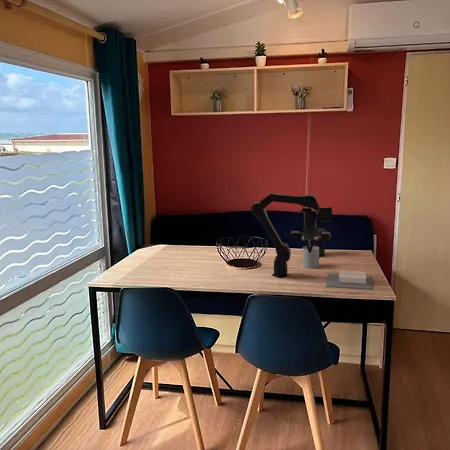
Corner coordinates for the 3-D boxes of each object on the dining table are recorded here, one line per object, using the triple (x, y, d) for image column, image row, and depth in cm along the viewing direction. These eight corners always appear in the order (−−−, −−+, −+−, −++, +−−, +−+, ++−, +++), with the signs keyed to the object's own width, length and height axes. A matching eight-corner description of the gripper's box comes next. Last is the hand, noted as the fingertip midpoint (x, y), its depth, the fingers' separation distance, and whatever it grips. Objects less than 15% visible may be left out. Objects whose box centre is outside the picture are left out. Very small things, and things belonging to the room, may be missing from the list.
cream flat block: (339, 276, 210) (366, 278, 207) (339, 270, 220) (365, 271, 217) (338, 283, 211) (366, 284, 208) (339, 276, 220) (365, 277, 217)
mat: (325, 286, 208) (326, 285, 208) (328, 273, 227) (328, 272, 227) (372, 289, 203) (372, 288, 202) (370, 275, 221) (370, 274, 221)
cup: (300, 267, 239) (300, 248, 237) (305, 263, 246) (305, 245, 244) (316, 269, 235) (316, 250, 233) (320, 265, 242) (321, 246, 240)
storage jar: (320, 258, 254) (320, 232, 251) (304, 255, 260) (304, 230, 257) (327, 254, 262) (328, 228, 259) (312, 252, 268) (312, 227, 265)
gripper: (288, 223, 213) (288, 256, 216) (329, 224, 208) (328, 258, 211) (291, 219, 223) (291, 250, 226) (330, 220, 218) (330, 251, 221)
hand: (309, 252), depth 221 cm, fingers closed
